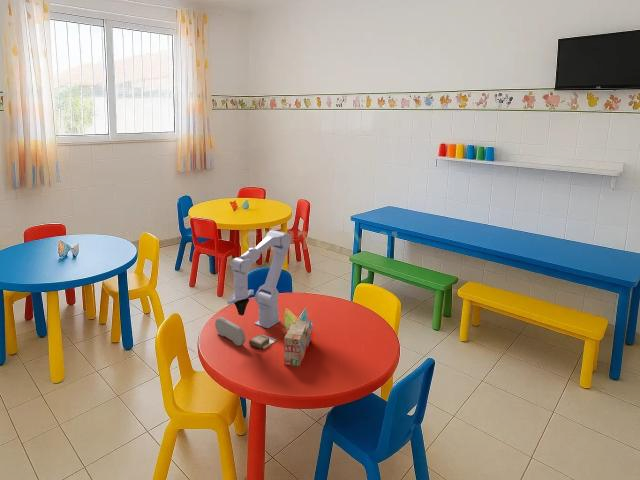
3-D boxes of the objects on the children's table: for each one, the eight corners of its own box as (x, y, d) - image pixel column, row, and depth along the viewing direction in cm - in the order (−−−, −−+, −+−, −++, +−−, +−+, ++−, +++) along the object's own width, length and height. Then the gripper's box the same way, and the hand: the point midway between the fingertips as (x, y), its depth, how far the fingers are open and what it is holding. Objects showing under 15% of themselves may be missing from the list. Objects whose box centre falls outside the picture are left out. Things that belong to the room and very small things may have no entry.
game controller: (246, 346, 195) (246, 329, 193) (241, 348, 194) (241, 330, 191) (219, 330, 208) (219, 314, 206) (215, 332, 206) (214, 315, 204)
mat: (261, 335, 205) (261, 334, 204) (276, 341, 200) (276, 339, 200) (249, 343, 198) (249, 341, 198) (264, 348, 194) (264, 347, 194)
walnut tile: (249, 344, 196) (258, 338, 201) (260, 348, 193) (269, 342, 198) (249, 340, 196) (258, 334, 200) (260, 344, 192) (269, 338, 197)
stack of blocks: (296, 339, 203) (297, 313, 199) (310, 340, 202) (311, 315, 198) (283, 365, 183) (284, 336, 179) (299, 367, 182) (299, 338, 178)
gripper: (245, 278, 205) (245, 306, 209) (221, 288, 193) (222, 318, 197) (257, 282, 201) (257, 310, 205) (234, 292, 189) (234, 322, 193)
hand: (241, 314), depth 201 cm, fingers closed
